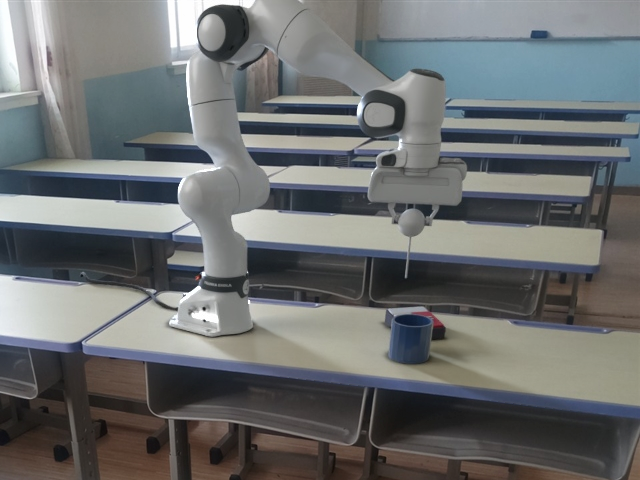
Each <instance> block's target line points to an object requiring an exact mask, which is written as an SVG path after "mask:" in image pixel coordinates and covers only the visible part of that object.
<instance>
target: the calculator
mask: <svg viewBox="0 0 640 480" xmlns="http://www.w3.org/2000/svg"><path fill="white" fill-rule="evenodd" d="M402 314H418V315H423V316H427V317H429V318H431V319H432V320H433V322H434V323H433V331H432V338H431V340H443V339H445V338H446V337H445V336H446V330H447V327H446V326H445V324H444V323H443V322H442V321H441V320H439V319H438V317H436V316H435V315H434V314H433V313H432V312H431V311H429V310H428V309H427V308H426V307H425V306H410V307H395V308H388V309H386V310H385V316H384V323H385V325H386V326H387V327H388V328H391V324H392V318H393V317H394V316H397V315H402Z"/></svg>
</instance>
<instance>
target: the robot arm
mask: <svg viewBox="0 0 640 480" xmlns="http://www.w3.org/2000/svg"><path fill="white" fill-rule="evenodd" d="M194 38H195V42H196V46H197V48H198V49H199V50H197V51H195V53H193V54H192V55H191V56H190V57H189V58H188V60H187V63H186V64H187V65H186V91H187V92H186V93H187V103H188V109H189V115H190V123H191V128H192V134H193V135H192V136H193V140H194V143H195V145H196V146H197V147H198V148H199V149H200V150H202V151H204V152H205V153H207V154H208V156H209V157H210V158H211V160H212V162H213V164H214V168H211V169H204V170H203V169H202V170H199V171H196V172H194V173H191V174H190V175H187V176H185V177H183V178H182V179H181V181H180V183H179V185H178V189H177V202H178V205H179V207H180V209H181V211H182V213H183V214H184V215H185V216H186V217H187V218H189V219H190V220H191V221H192V222H193V224H194V225H195V226H196V228H197V230H198V233H199V236H200V238H201V242H202V250H203V252H202V253H203V266H204V269H203V271H202V272H200V273H198V275H196V276H195V281H196V282H197V281H198V285H197V286H196V287H195V288H193V289H192V290H191V291H189V292H183V293H182V297H181V299H180V301H179V302H178V306H177V307H174V306H170V305H168V304H166V303H165V302H163V301H161V300H159V299H157V297H156V296H155V294H153V292H152V291H150V290H148V291H146V290H147V288H145V287H142V286H139V285H135V284H132V283H131V284H130V283H125V282H118V281H109V280H98V279H97V280H96V279H92V278H90V277H89V276H88V275H87V273H86V272H85V271H82V272H80V275H79V277H80V278H84V279H85V281H87V282H89V283H92V284H96V285H110V286H117V287H124V288H129V289H135V290H137V291H141V292H143V293H145V294H147V295H148V296H150V297H151V299H152V301H153V302H154V303H156V304H157V305H158V306H161V307H163V308H164V309H168V310H173V311H177V314H175V315H173V316H172V317H170V319H169V326H170V327H171V328H175V329H179V330H183V331H188V332H191V333H194V334H199V335H203V336H206V337H210V338H211V337H213V338H214V337H218V336H219V337H220V336H225V335H237V334H241V333H245V332H247V331H250V330H252V328H254V322H253V319H252V315H251V309H250V304H251V301H250V300H249V294H250V293H249V292H250V273H249V271H248V242H247V239H246V238H245V237H244V236H243V234H241V233H239V232H238V231H236V230H235V229H234V226H233V221H232V216H235V215H240V214H244V213H250V212H252V211H254V210H257V209H258V208H260V207H262V206H264V205H265V204H266V203H267V201H268V200H269V198H270V192H271V184H270V183H271V182H270V179H269V176H268V173H266V171H265V170H264V169H263V168H262V167H261V166H260V165H258V164H257V163H256V162H255V160H254V159H253V158H252V156H251V155H250V153H249V151H248V149H247V147H246V145H245V141H244V139H243V136H242V132H241V127H240V120H239V115H238V107H237V101H236V93H235V88H234V77H235V73H236V72H237V71H240V72H242V71H244V70H246V69H247V68H249V67H250V66H251V65H253V64H256V62H258V61H260V60H262V59H263V58H264V57H265V56H266V55H267V53H268V52H269V51H270V52H271V53H273V54H274V55H275V57H277V58H278V59H279V60H280V61H281V62H283V63H284V64H285V65H286V66H288V67H289V69H292V70H294V71H296V73H299V74H301V75H303V76H307V77H314V78H325V79H329V80H333V81H336V82H339V83H341V84H343V85H345V86H347V87H348V88H350V89H351V90H352V91H353V92H355V93H356V94H357V95H358V96H359V97H361V99H360V100H359V103H358V104H357V105H358V106H357V108H356V109H357V110H356V119H357V124H358V126H359V129H360V130H361V131H362V132H363V134H365V135H366V136H368V137H370V138H374V139H384V138H390V137H393V136H397V137H398V147H395V148H390V149H388V150H384V151H382V152H380V153H379V154H378V155H377V156H376V159H375V165H376V167H375V168H374V169H373V170H372V172H371V174H370V178H369V183H368V187H367V188H368V189H367V199H368V200H369V202H370V203H387V209H388V211H389V214H390V216H391V225H398V220H399V218H400V216H401V214H397V213H396V211H395V209H394V208H396V204H407V205H410V204H411V205H412V204H413V205H429V206H430V205H431V210H432V212H431V214H430V216H429V215H428V216H427V215H426V216H425V221H426V222H425V227H432V226H433V221H434V218H435V216H436V214H437V213H438V212H439V211H440V210H439V209H440V206H453V207H456V206H458V205H459V204H460V203H461V202H462V200H463V199H462V198H463V181H464V180H465V179H466V177H467V173H468V165H467V163H466V162H465V161H464V160H462V158H459V157H454V158H452V157H440V155H441V147H442V135H441V131H442V130H441V129H442V125H443V124H444V123H443V122H444V119H445V111H446V98H447V95H446V94H447V92H446V91H447V89H446V80H445V78H444V76H443V75H442V74H440V73H439V72H437V71H434V70H431V69H426V68H425V69H423V68H411V69H409V70H408V71H407V72H406V73H405V74H404V75H403V76H401V77H399V78H398V79H394V78H392V77H389V76H388V75H387V74H386V73H385V72H383V71H382V70H381V69H379V68H378V67H376V65H374V64H373V63H372V62H370V61H369V60H367V59H366V58H365V57H364V56H363V55H361V54H359V53H358V52H357V51H356V50H354V49H353V48H352V47H351V46H350V45H349V44H348V43H347V42H346V41H345V40H343V38H341V37H340V36H339V35H338V34H337V33H336V32H335V31H334V30H333V29H332V27H331V28H330V26H329V25H328V24H327V23H326V22H325V21H324V20H323V19H321V18H320V17H319V15H317V14H316V12H314V11H313V10H312V9H311V8H309V7H308V6H307V5H305V4H304V3H303V2H302V1H300V0H254V2H253V4H252V5H251V6H250V7H246V6H242V5H239V4H238V5H237V4H223V3H222V4H221V3H220V4H216V5H215V4H214V5H212V6H209V7H208V8H205V10H203V11H202V12H201V14H200V15H199V16H198V18H197V19H196V23H195V30H194Z"/></svg>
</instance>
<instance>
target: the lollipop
mask: <svg viewBox="0 0 640 480" xmlns="http://www.w3.org/2000/svg"><path fill="white" fill-rule="evenodd" d="M425 219H426V216H425V215H424V213H423V212H422V211H421V210H419V209H417V208H409V209H406V210H405V211H404V212H402V213H401V214H400V216H399V220H398V224H397V225H398V229H399V232H400V233H401V234H402V235H403V236H405V237H408V246H407V256H406V264H405V274H404V279H408V273H409V263H410V254H411V253H410V252H411V245H412V238H413V237H417V236H419V235H420V234H421V233H423V230H424V229H425V227H426V226H425V222H426V221H425Z"/></svg>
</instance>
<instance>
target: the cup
mask: <svg viewBox="0 0 640 480" xmlns="http://www.w3.org/2000/svg"><path fill="white" fill-rule="evenodd" d="M433 323H434V322H433V320H432V319H431V318H429V317H427V316H423V315H418V314H402V315H397V316H394V317H393V318H392V324H391V327H390V334H389V345H388V358H389V359H390V360H392V361H394V362H396V363H399V364H400V363H401V364H405V365H406V364H407V365H417V364H422V363H425V362H427V361H428V360H429V358H430V354H431V345H432V339H431V338H432V331H433Z"/></svg>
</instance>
